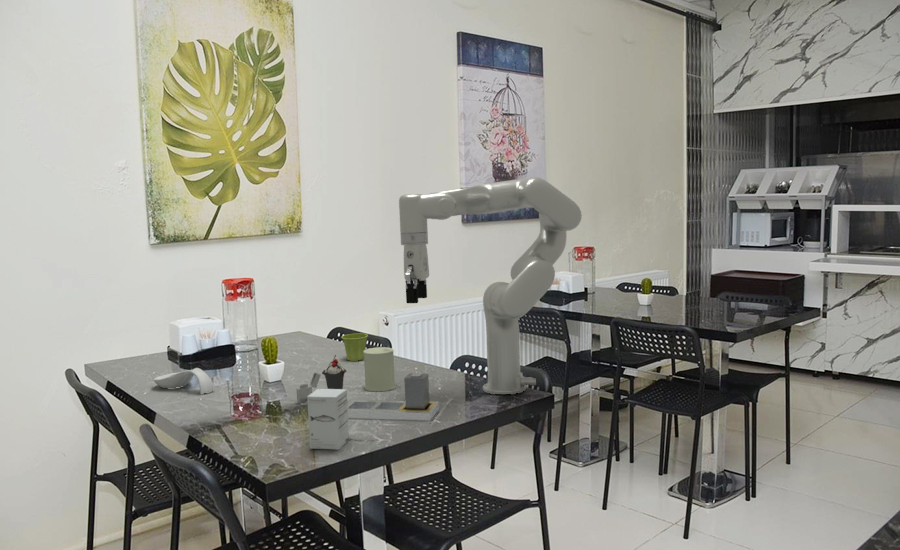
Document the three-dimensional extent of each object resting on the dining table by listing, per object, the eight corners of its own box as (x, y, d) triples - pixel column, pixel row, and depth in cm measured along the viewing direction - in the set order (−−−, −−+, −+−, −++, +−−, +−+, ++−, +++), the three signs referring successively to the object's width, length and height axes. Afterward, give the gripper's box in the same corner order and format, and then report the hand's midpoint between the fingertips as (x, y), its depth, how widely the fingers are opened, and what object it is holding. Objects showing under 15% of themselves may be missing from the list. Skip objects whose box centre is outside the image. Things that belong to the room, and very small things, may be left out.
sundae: (337, 411, 197) (334, 357, 196) (319, 408, 201) (316, 355, 199) (353, 405, 203) (350, 352, 201) (335, 402, 206) (332, 350, 205)
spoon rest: (146, 389, 231) (145, 367, 230) (179, 381, 240) (177, 359, 240) (192, 398, 217) (190, 375, 216) (225, 389, 227) (223, 367, 226)
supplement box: (308, 449, 168) (305, 396, 166) (321, 439, 175) (318, 387, 173) (339, 450, 166) (336, 396, 165) (350, 440, 173) (347, 388, 172)
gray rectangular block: (429, 411, 190) (428, 372, 189) (424, 417, 185) (423, 377, 184) (411, 410, 191) (409, 372, 190) (406, 416, 186) (404, 377, 185)
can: (390, 391, 215) (388, 352, 214) (360, 391, 217) (358, 351, 216) (399, 383, 224) (397, 345, 223) (370, 383, 226) (368, 345, 225)
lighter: (299, 404, 206) (298, 376, 205) (297, 402, 207) (295, 375, 206) (322, 399, 210) (320, 372, 209) (319, 398, 211) (318, 371, 211)
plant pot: (367, 362, 256) (366, 337, 256) (340, 363, 257) (339, 338, 256) (370, 356, 266) (369, 332, 265) (344, 357, 266) (343, 333, 265)
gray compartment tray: (439, 412, 192) (438, 401, 192) (430, 424, 183) (429, 412, 182) (353, 410, 197) (352, 399, 197) (339, 421, 188) (339, 410, 187)
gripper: (419, 240, 192) (422, 305, 193) (434, 236, 208) (437, 296, 210) (392, 241, 193) (395, 305, 195) (409, 237, 210) (412, 296, 212)
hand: (417, 300), depth 203 cm, fingers open, 9 cm apart
